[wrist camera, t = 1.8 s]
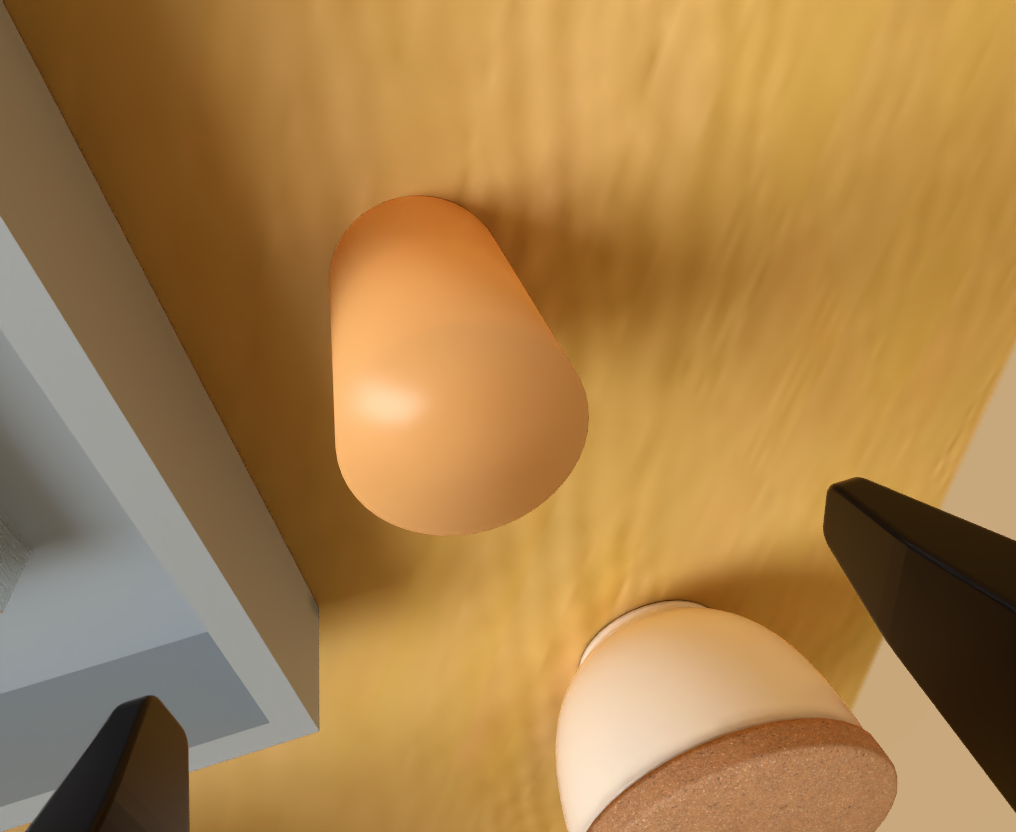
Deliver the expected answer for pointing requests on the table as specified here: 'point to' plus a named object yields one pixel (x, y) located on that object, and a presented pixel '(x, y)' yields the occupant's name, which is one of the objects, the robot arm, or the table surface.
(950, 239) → the table surface
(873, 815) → the lidded jar
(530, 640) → the table surface
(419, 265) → the peach capsule shape
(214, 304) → the table surface
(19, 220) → the inlet box
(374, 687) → the table surface
